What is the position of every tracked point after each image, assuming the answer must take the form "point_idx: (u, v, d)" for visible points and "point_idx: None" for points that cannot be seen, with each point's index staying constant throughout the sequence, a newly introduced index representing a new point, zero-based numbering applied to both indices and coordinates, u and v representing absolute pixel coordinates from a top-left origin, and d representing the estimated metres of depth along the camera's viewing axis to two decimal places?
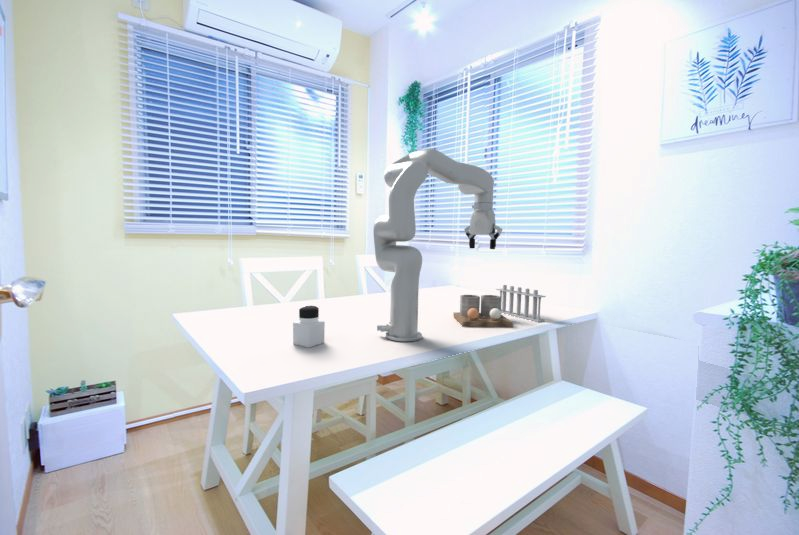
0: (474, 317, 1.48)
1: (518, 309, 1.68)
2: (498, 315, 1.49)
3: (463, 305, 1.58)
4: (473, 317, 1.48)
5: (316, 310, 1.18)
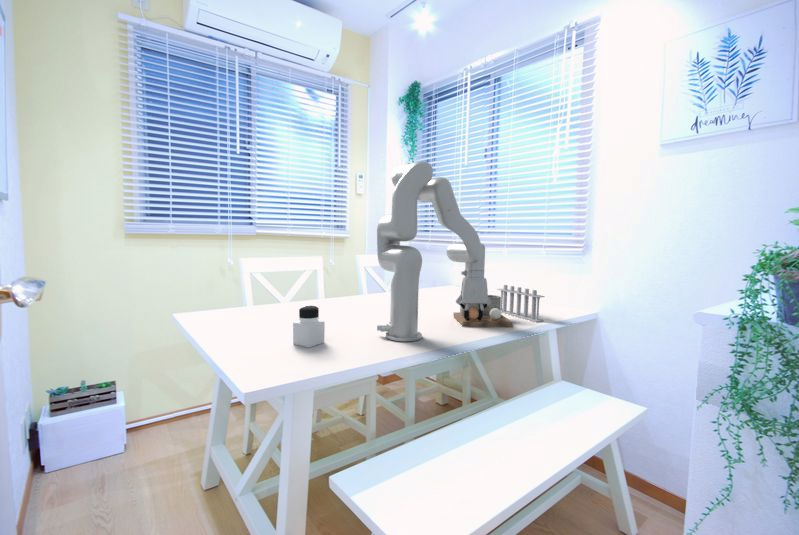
0: (474, 317, 1.48)
1: (518, 309, 1.68)
2: (498, 315, 1.49)
3: None
4: (473, 317, 1.48)
5: (316, 310, 1.18)
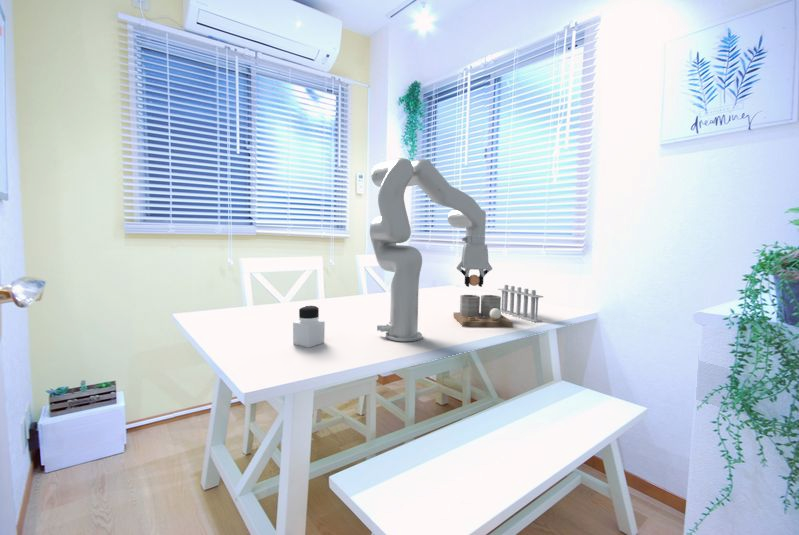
0: (475, 283, 1.49)
1: (518, 309, 1.68)
2: (498, 315, 1.49)
3: (463, 305, 1.58)
4: (473, 283, 1.49)
5: (316, 310, 1.18)
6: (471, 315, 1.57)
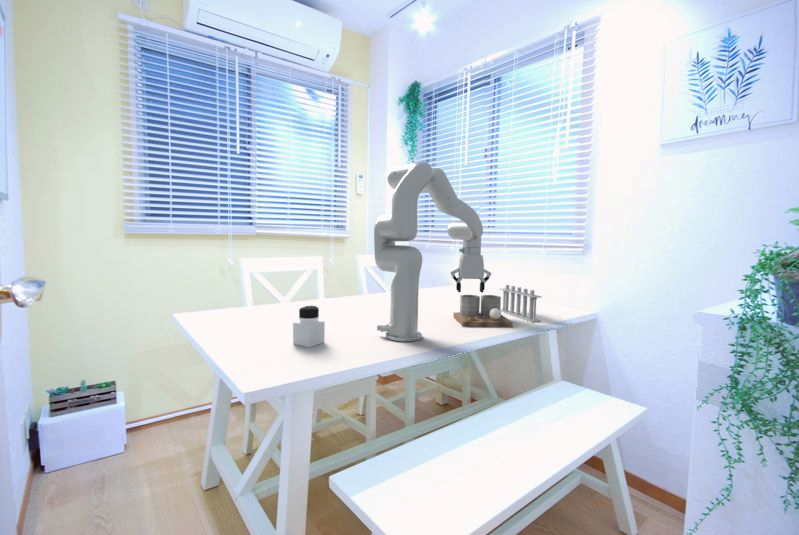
0: None
1: (517, 309, 1.68)
2: (498, 315, 1.49)
3: (463, 305, 1.58)
4: None
5: (316, 310, 1.18)
6: (471, 315, 1.57)
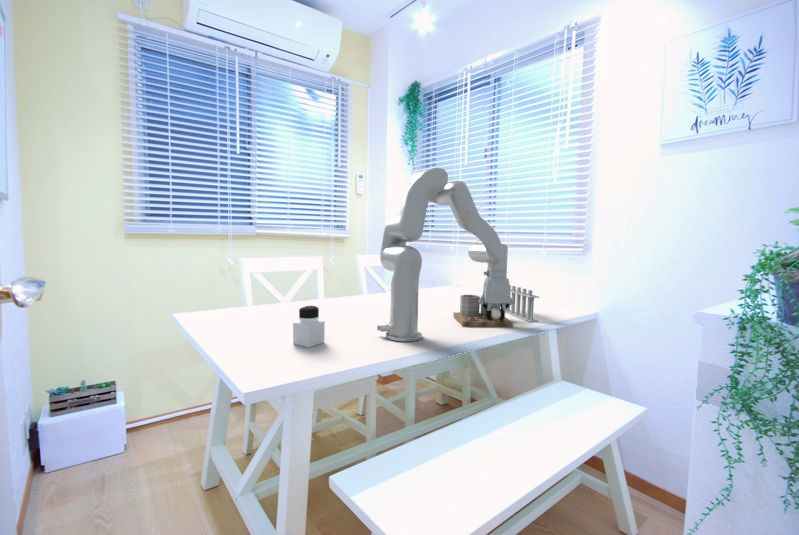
0: None
1: (517, 309, 1.68)
2: (498, 315, 1.49)
3: (463, 305, 1.58)
4: None
5: (316, 310, 1.18)
6: (471, 315, 1.57)
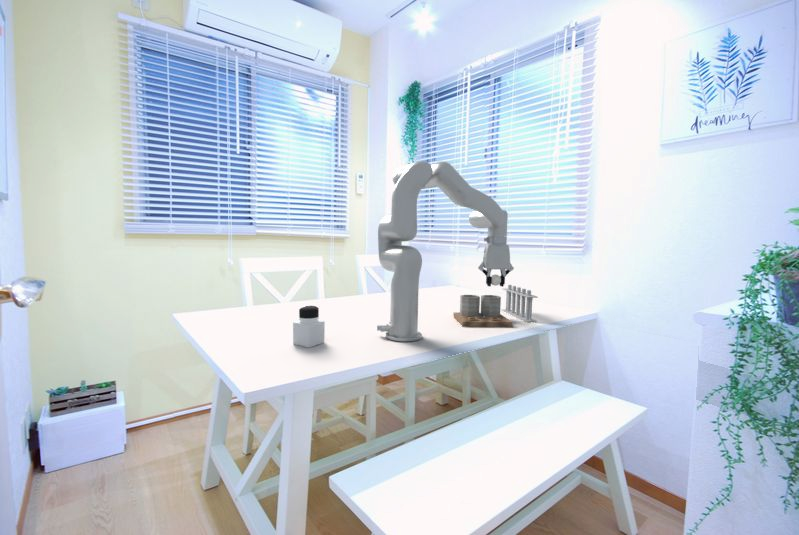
0: None
1: (517, 309, 1.68)
2: (499, 281, 1.50)
3: (463, 305, 1.58)
4: None
5: (316, 310, 1.18)
6: (471, 315, 1.57)
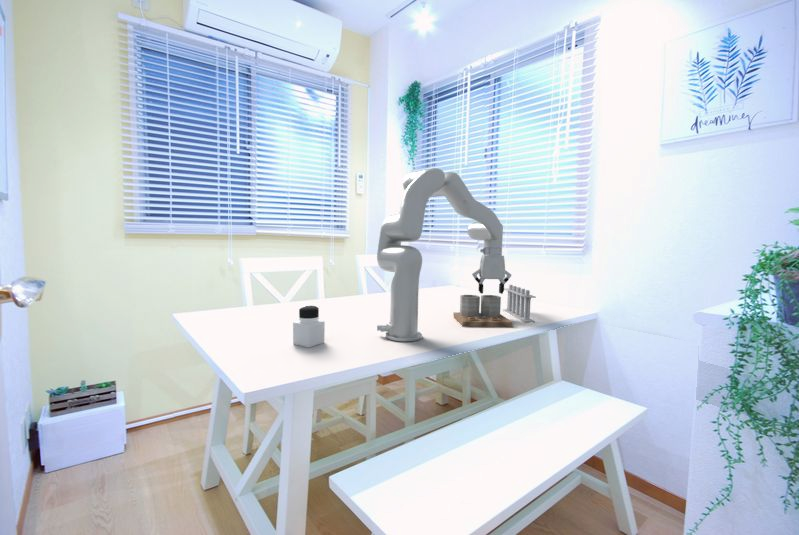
0: None
1: (516, 309, 1.68)
2: None
3: (463, 305, 1.58)
4: None
5: (316, 310, 1.18)
6: (471, 315, 1.57)
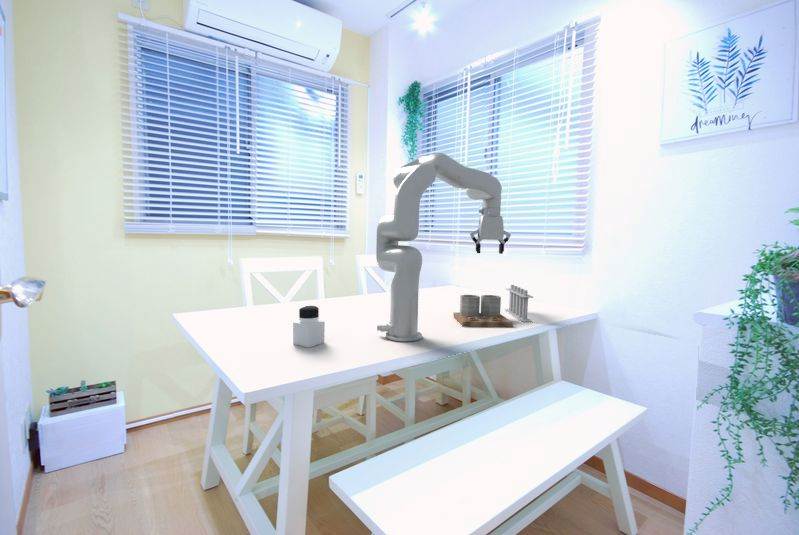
0: None
1: (516, 309, 1.68)
2: None
3: (463, 305, 1.58)
4: None
5: (316, 310, 1.18)
6: (471, 315, 1.57)
